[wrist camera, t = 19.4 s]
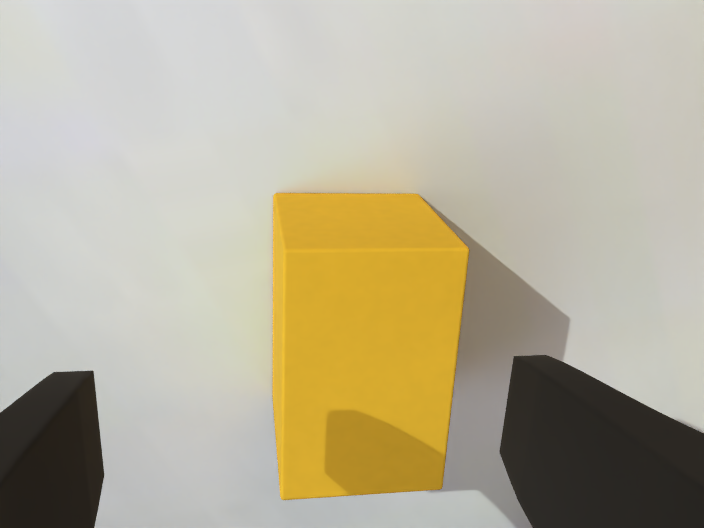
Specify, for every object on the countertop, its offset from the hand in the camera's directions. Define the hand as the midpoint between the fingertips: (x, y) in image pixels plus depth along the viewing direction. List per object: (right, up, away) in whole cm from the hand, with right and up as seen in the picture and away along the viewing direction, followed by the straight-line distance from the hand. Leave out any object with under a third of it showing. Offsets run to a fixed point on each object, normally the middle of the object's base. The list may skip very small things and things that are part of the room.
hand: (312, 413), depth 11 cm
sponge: (0, +1, +10) cm, 10 cm away
